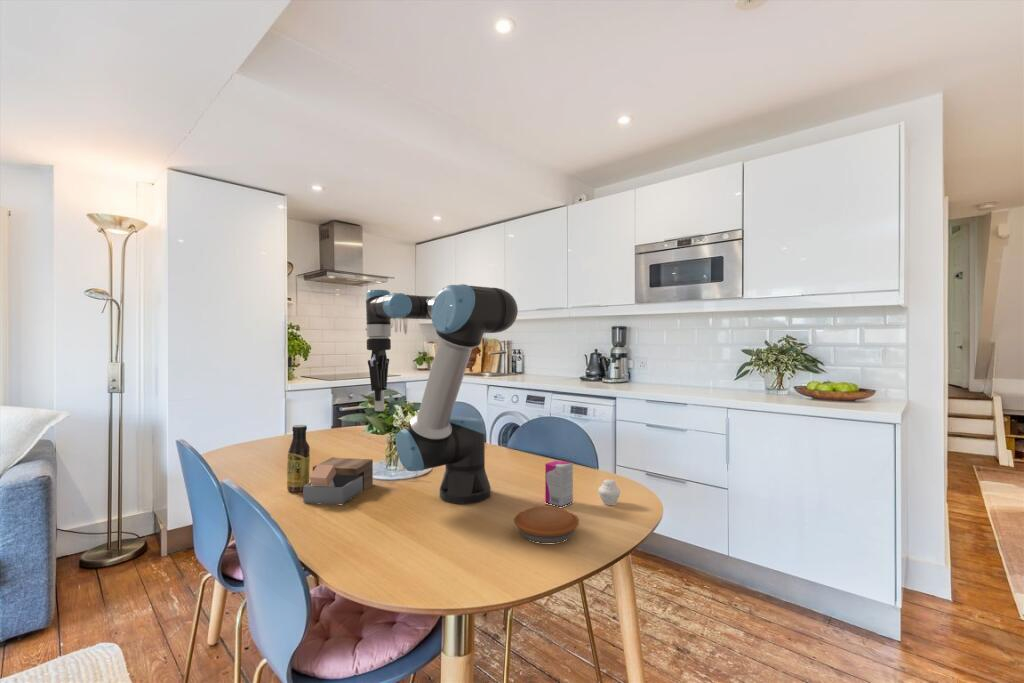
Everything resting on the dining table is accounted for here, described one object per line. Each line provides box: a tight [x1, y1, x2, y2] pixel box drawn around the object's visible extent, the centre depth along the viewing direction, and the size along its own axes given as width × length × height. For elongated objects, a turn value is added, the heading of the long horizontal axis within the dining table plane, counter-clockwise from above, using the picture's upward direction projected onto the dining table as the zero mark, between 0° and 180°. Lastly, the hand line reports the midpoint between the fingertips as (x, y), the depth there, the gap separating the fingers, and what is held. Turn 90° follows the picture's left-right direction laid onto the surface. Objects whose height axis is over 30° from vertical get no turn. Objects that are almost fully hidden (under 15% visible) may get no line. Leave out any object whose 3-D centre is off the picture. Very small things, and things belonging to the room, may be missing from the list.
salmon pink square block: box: [309, 463, 336, 486], centre depth 135 cm, size 5×5×3 cm
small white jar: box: [597, 478, 621, 506], centre depth 133 cm, size 6×6×7 cm
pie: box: [513, 505, 580, 544], centre depth 112 cm, size 15×16×5 cm
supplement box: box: [544, 459, 574, 508], centre depth 133 cm, size 6×6×12 cm
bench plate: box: [312, 457, 374, 491], centre depth 146 cm, size 14×11×8 cm
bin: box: [302, 475, 364, 506], centre depth 139 cm, size 12×12×5 cm
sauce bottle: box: [286, 424, 311, 493], centre depth 146 cm, size 6×6×20 cm
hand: (379, 410), depth 153 cm, fingers closed
